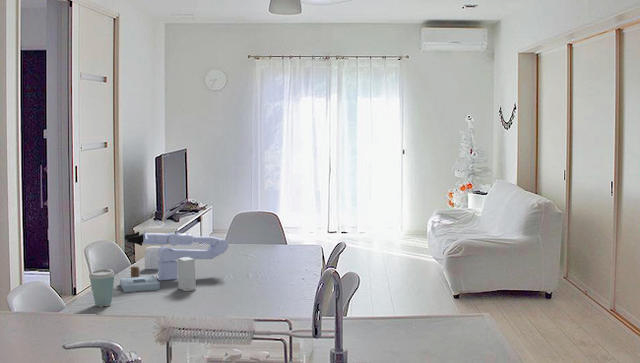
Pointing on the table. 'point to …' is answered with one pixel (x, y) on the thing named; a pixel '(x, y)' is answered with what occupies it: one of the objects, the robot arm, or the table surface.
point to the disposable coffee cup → (102, 286)
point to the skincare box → (186, 274)
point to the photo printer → (151, 257)
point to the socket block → (139, 283)
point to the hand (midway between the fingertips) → (126, 238)
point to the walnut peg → (134, 271)
